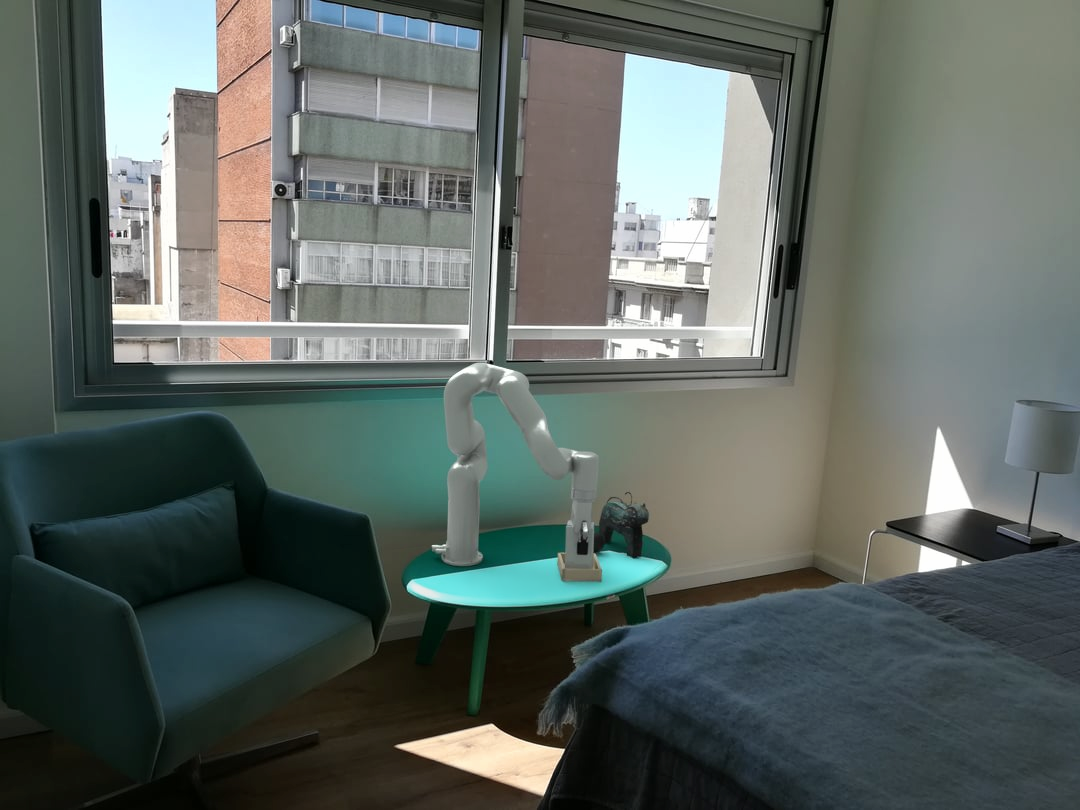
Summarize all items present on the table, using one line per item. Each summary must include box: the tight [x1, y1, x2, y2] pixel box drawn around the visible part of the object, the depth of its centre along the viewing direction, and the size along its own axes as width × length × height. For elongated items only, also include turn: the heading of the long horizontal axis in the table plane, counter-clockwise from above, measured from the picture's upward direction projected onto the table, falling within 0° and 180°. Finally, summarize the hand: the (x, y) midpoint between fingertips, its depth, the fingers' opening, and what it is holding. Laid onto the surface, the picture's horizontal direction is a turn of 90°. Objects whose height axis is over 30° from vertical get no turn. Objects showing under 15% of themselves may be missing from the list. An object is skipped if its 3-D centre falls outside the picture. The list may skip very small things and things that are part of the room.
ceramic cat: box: [598, 491, 650, 559], centre depth 277 cm, size 20×6×20 cm, turn 35°
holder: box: [556, 552, 603, 583], centre depth 257 cm, size 12×14×4 cm
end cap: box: [593, 531, 605, 554], centre depth 273 cm, size 10×7×7 cm
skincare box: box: [564, 520, 595, 569], centre depth 256 cm, size 8×6×15 cm
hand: (579, 548), depth 256 cm, fingers open, 9 cm apart
